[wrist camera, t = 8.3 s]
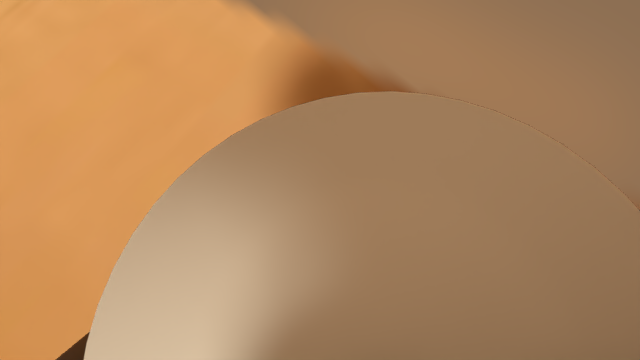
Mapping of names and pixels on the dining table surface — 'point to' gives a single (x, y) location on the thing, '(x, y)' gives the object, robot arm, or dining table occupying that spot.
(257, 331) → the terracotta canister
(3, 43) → the dining table surface
